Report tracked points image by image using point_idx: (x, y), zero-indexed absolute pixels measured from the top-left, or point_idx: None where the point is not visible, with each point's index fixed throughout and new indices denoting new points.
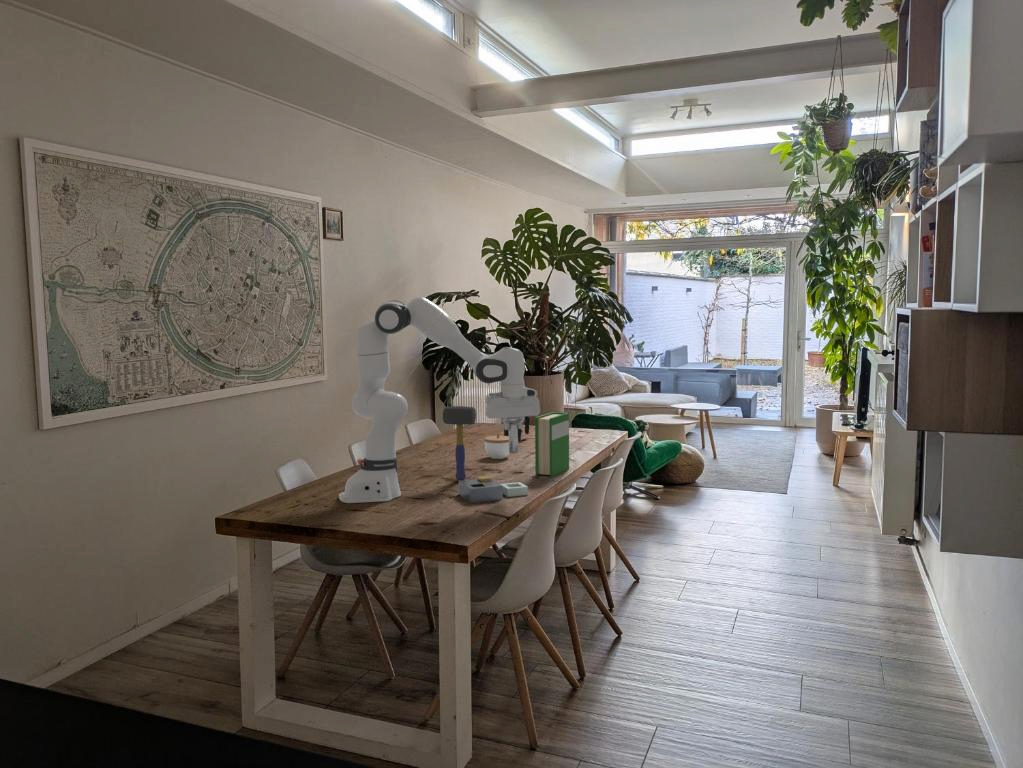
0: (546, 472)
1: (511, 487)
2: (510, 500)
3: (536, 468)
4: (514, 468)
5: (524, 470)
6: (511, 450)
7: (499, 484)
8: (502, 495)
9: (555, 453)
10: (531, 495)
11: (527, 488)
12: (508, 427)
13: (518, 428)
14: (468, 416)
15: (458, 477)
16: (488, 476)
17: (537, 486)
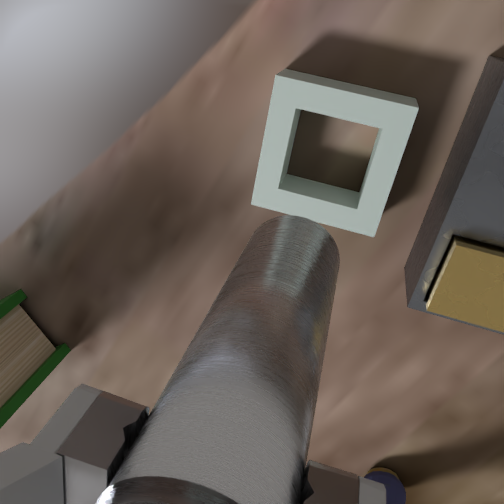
0: (24, 324)
1: (374, 122)
2: (465, 2)
3: (48, 367)
4: None
5: None
6: (330, 250)
7: (493, 118)
8: (495, 58)
9: None
10: (277, 41)
11: (281, 73)
12: (331, 497)
13: (140, 404)
14: None
15: (402, 488)
16: (443, 292)
17: (148, 195)
